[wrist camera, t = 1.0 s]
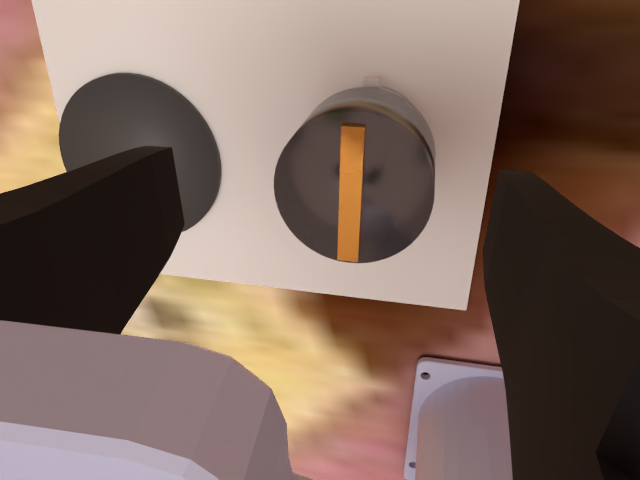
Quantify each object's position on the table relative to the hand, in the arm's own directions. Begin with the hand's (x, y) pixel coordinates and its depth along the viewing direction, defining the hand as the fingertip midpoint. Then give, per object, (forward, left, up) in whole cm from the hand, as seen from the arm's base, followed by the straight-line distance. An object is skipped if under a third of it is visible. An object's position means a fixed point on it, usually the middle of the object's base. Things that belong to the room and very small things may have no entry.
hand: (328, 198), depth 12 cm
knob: (-2, 0, -9) cm, 9 cm away
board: (-3, +5, -12) cm, 13 cm away
